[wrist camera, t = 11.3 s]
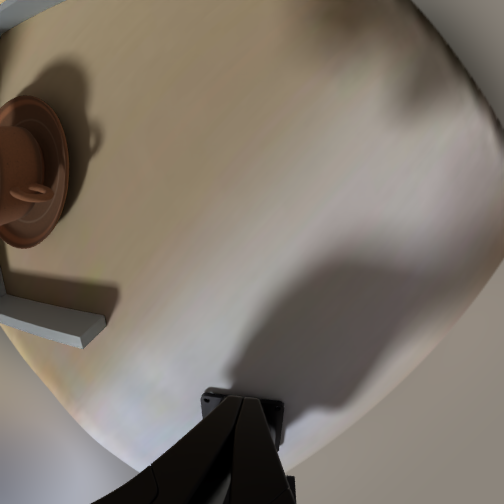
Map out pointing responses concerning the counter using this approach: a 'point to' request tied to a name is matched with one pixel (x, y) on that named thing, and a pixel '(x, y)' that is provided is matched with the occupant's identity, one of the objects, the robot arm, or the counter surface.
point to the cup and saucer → (31, 171)
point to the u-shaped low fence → (3, 305)
